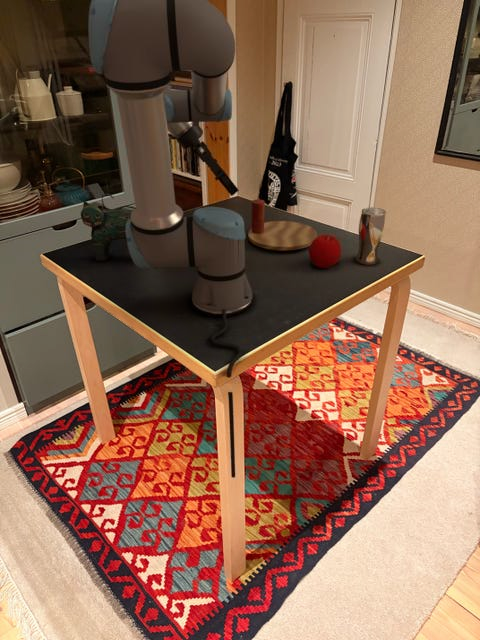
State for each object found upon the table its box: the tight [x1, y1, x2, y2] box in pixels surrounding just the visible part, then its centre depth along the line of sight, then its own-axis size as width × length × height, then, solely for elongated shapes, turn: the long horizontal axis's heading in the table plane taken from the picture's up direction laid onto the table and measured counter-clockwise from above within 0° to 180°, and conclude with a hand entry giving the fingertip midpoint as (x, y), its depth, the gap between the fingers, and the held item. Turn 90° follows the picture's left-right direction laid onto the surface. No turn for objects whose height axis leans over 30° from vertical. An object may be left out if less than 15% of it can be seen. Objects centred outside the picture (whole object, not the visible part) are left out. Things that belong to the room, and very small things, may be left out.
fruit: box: [308, 231, 342, 269], centre depth 132 cm, size 9×9×10 cm
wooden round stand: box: [247, 199, 318, 251], centre depth 147 cm, size 22×22×11 cm
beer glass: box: [355, 206, 387, 266], centre depth 133 cm, size 7×7×15 cm
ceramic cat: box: [80, 193, 136, 262], centre depth 135 cm, size 20×6×20 cm, turn 83°
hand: (230, 187), depth 141 cm, fingers open, 13 cm apart
